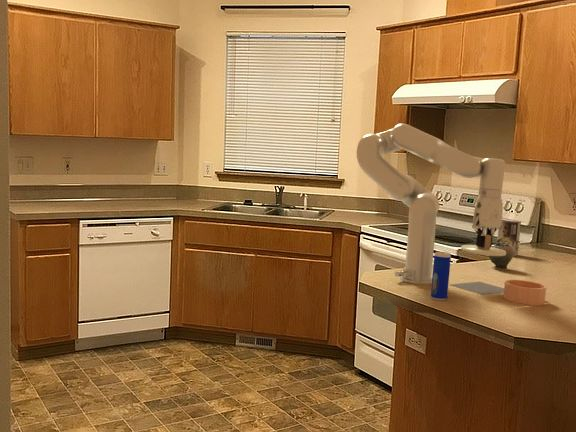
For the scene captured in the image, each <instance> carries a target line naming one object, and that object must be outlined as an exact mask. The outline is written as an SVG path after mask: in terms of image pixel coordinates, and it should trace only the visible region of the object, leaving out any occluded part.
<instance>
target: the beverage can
mask: <svg viewBox="0 0 576 432" xmlns="http://www.w3.org/2000/svg"><path fill="white" fill-rule="evenodd" d="M451 259H452V256H451V252H448V251H435V252H434V254H433V264H432V275H431V277H432V284H431V288H430V289H431V291H430V298H431V299H433V300H436V301H446V300H447V299H448V292H449V281H450V269H451Z"/></svg>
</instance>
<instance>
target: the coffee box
mask: <svg viewBox="0 0 576 432" xmlns="http://www.w3.org/2000/svg"><path fill="white" fill-rule="evenodd" d="M521 223H522V222H521V221H516V220H508V219H502V224H501V226H500V228H499V229H497V231H498V232H497V240H496V243H499V242H500V241H501V239H502V242H507V243H508V242H509V244H510V245H512V247H513V248H514V251H515V255H514V256H513V257H516V256H518V255H519V249H520V248H519V246H520V236H521V235H520V234H521Z"/></svg>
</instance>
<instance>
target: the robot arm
mask: <svg viewBox="0 0 576 432" xmlns="http://www.w3.org/2000/svg"><path fill="white" fill-rule="evenodd" d="M402 150H404V151H406V152H409V153H411V154H413V155H415V156H417V157H420V158H421V159H424V160H426V161H428V162H429V163H431V164H435V165H438V166H440V167H442V168H444V169H445V170H448V171H450V172H453V173H455V174H457V175H459V176H461V177H463V178H465V179H466V178H467V179H473V178H480V179H479V186H478V188H479V189H478V194H477V195H478V197H477V199H476V202H475V206H474V211H473V217H472V218H473V219H472V225H471V228H472V229H473V230H474V231H475V234H476V243H475V245H476V246H478V247H482V248H483V247H484V245H485V237H486V236H484V235H485V234H487V235H491V245H490V247H492V246H493V240H494V239H493V238H494V236H495V233H496V231H498V229H499V228H500V226H501V224H502V220H503V199H502V194H503V193H502V191H503V184H504V177H505V169H506V168H505V167H506V161H505V160H504V159H501V158H492V157H489V158H488V157H486V158H483V157H478V156H473V155H471V154H469V153H466V152H464V151H462V150H459V149H457V148H455V147H453V146H451V145H449V144H448V143H446V142H444V141H443V140H442V139H440V138H438V137H436V136H433V135H431V134H429V133H426V132H425V131H422V130H421V129H418V128H417V127H414V126H412V125H410V124H406V123H398V124H396V125H395V126H394V127H393V128H391V129H388V130H386V131H382V132H379V133H368V134H366V135H364V136H362V137H361V138H360V140H359V141H358V143H357V148H356V159H357V163H358V165H359V167H360V169H361V170H362V171H363V172H364V174H365V175H366V176H367V177H368V178H370V179H371V180H372V181H373V182H374V183H375V184H376V185H378V186H379V187H380V188H381V189H382V190H383V191H384V192H386V193H387V194H388V195H389V196H390V197H391V198H392V199H393V200H396V201H398V202H402V203H403V204H404V205H405V206H406V207H408V209H409V210H408V229H407V240H406V241H407V243H406V253H405V254H406V255H405V266H404V267H403V268H402V270H401V271H400V270H399V271H398V270H397V271H395V272H394V275H395V276H394V277H396V278H399V279H400V281H402V282H405V283H409V284H415V285H417V284H418V285H432V275H433V264H434V253H435V252H434V251H435V241H436V239H435V238H436V228H437V226H436V225H437V215H438V211H439V209H440V203H439V202H440V201H439V199H438V198H437V196H436V195H435V194H433V193H432V192H431V191H430V190H428V188H426V187H425V186H424V185H422V184H421V182H419V181H418V180H416V179H415V178H414V177H413V176H411V175H409V174H404V173H402V172H401V171H399V170H398V169H397V168H395V167H394V166H393V165H392V164H391V162H388V161H387V160H386V159H385V158H383V156H386V155H389V154H392V153H395V152H399V151H402Z"/></svg>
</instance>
